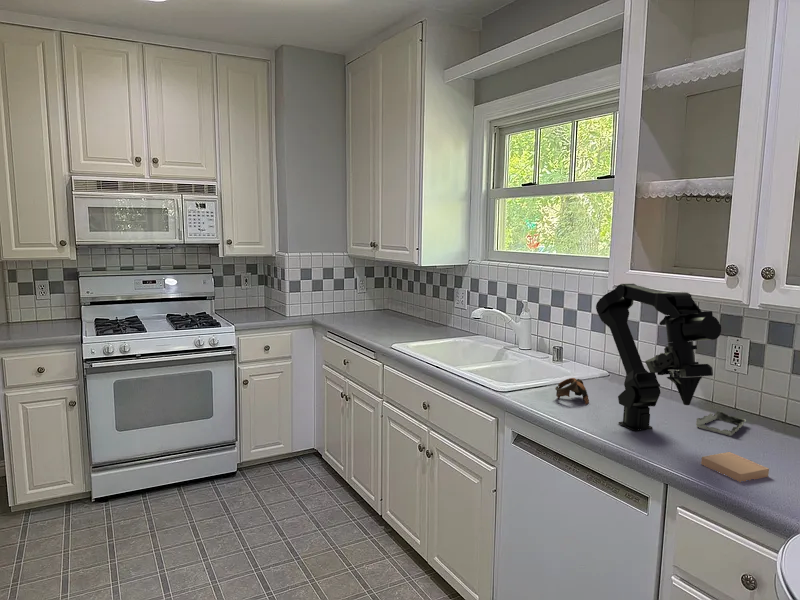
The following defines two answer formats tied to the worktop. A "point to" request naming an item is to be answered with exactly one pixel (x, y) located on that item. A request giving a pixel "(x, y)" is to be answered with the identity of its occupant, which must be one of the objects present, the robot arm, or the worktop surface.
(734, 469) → the flat brown rectangular block
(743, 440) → the worktop surface
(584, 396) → the brown arched part
